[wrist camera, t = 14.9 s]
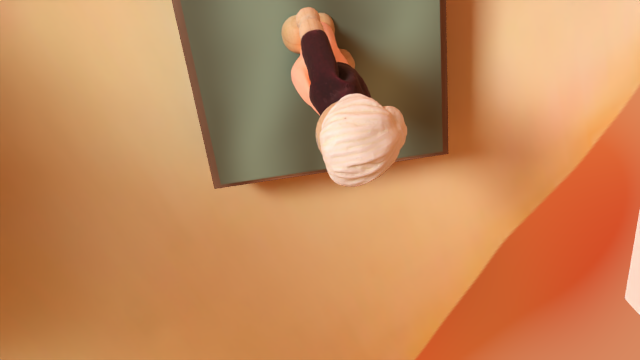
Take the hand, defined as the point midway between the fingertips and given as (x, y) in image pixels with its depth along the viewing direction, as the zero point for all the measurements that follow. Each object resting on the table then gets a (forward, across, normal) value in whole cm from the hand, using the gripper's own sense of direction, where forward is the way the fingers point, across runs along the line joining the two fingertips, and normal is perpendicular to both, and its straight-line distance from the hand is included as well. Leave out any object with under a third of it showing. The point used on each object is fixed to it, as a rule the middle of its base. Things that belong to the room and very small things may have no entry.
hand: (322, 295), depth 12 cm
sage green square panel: (+25, +2, -1) cm, 25 cm away
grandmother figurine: (+21, +2, -1) cm, 21 cm away
